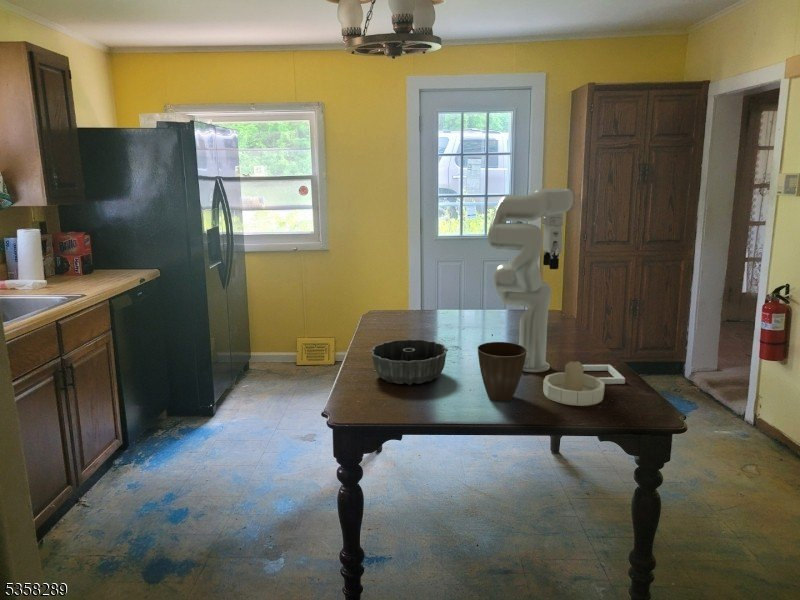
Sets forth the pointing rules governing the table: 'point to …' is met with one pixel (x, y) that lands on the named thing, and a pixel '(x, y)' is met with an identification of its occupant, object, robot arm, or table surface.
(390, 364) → the bundt pan
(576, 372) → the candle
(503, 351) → the plant pot
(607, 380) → the white square frame
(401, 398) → the table surface
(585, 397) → the bowl
